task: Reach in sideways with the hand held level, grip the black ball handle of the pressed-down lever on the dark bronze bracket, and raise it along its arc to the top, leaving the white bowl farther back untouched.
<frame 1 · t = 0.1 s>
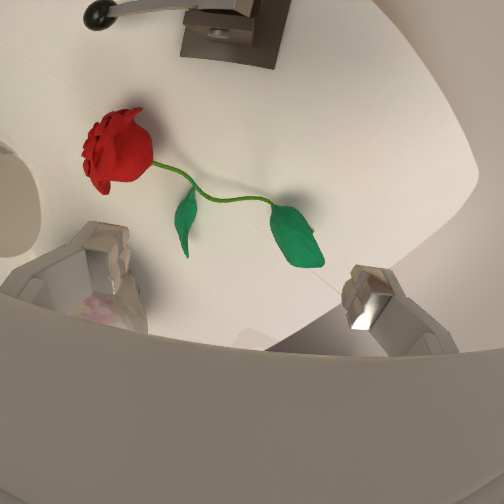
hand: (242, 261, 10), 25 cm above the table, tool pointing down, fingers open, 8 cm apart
decorative flower: (204, 193, 35), on the table
bracket: (235, 25, 23), on the table
lever: (150, 5, 15), point 9 cm above the table, hinge at -25.0°
ceramic pitcher: (113, 285, 45), on the table
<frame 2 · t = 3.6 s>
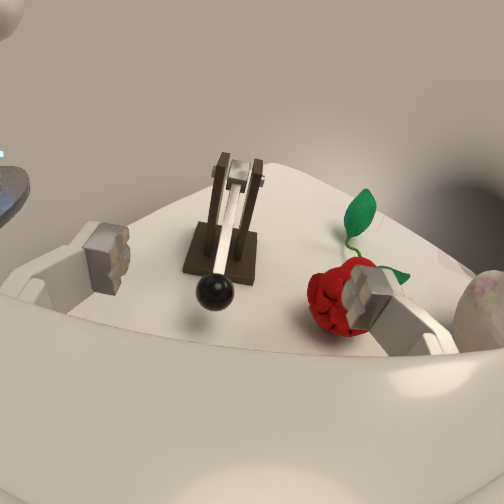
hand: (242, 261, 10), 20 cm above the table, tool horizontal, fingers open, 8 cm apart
decorative flower: (358, 280, 42), on the table
bracket: (222, 254, 40), on the table
lever: (227, 229, 30), point 9 cm above the table, hinge at -25.0°
ceramic pitcher: (468, 358, 33), on the table
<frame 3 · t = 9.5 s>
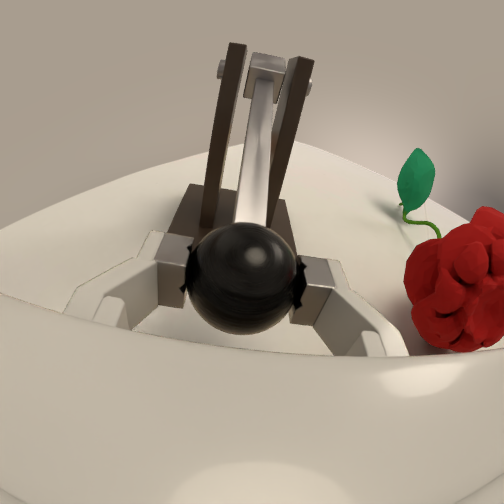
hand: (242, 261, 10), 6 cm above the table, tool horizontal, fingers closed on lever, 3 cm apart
decorative flower: (435, 268, 26), on the table
bracket: (232, 230, 23), on the table
lever: (257, 141, 13), point 9 cm above the table, hinge at -25.0°, touching gripper
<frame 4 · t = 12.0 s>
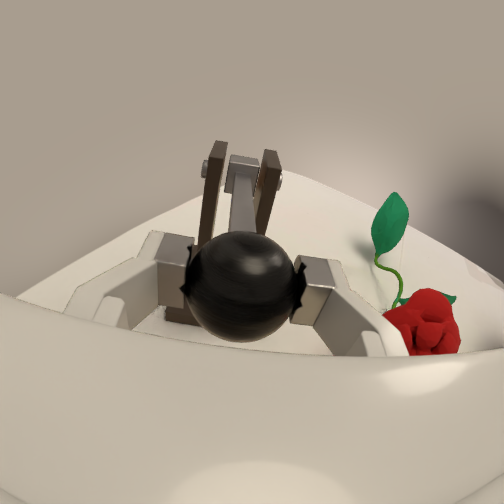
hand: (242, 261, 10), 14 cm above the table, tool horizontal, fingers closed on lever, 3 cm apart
decorative flower: (397, 310, 31), on the table
bracket: (220, 289, 28), on the table
lever: (241, 209, 15), point 13 cm above the table, hinge at 6.9°, touching gripper
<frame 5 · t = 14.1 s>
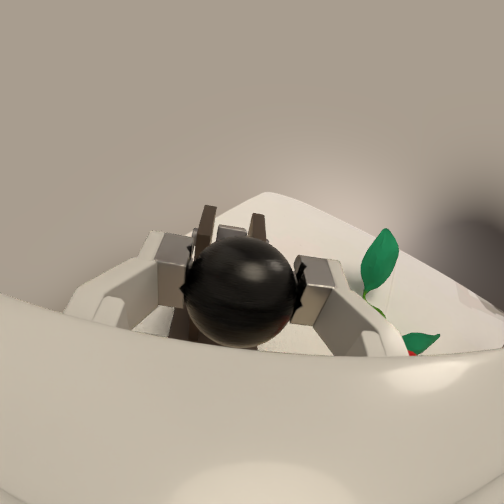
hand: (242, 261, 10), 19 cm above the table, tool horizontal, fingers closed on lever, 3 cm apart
decorative flower: (381, 347, 33), on the table
bracket: (213, 333, 30), on the table
lever: (233, 257, 16), point 15 cm above the table, hinge at 28.4°, touching gripper
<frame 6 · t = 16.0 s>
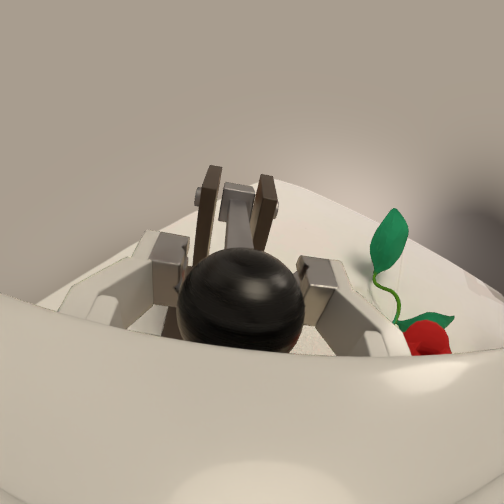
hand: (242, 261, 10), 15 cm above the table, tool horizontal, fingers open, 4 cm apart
decorative flower: (394, 330, 31), on the table
bracket: (216, 312, 28), on the table
lever: (237, 234, 14), point 14 cm above the table, hinge at 14.3°
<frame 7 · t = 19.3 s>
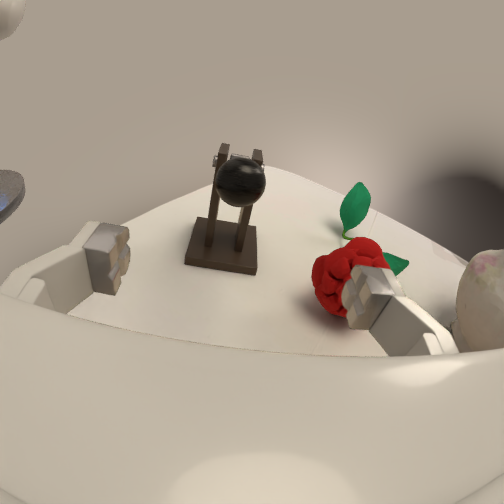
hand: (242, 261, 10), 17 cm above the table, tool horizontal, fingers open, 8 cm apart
decorative flower: (358, 270, 43), on the table
bracket: (223, 246, 40), on the table
lever: (239, 171, 27), point 14 cm above the table, hinge at 14.3°
ceramic pitcher: (473, 340, 34), on the table
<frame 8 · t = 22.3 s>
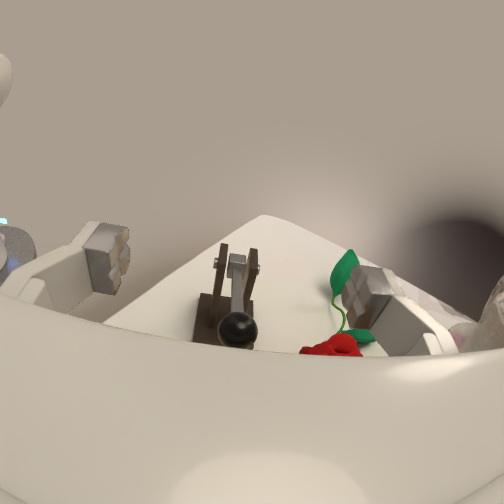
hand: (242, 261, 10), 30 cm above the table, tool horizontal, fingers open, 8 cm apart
decorative flower: (343, 336, 48), on the table
bracket: (224, 323, 45), on the table
lever: (236, 293, 32), point 14 cm above the table, hinge at 14.3°
ceramic pitcher: (442, 395, 39), on the table
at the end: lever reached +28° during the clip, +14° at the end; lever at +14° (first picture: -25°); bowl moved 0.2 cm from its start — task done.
